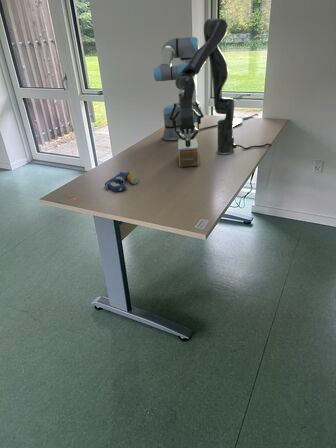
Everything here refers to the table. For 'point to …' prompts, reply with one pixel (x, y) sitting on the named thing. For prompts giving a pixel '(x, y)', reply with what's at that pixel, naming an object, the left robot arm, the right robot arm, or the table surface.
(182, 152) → the drawer
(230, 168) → the table surface
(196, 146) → the cabinet
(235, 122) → the spoon
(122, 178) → the spray gun
